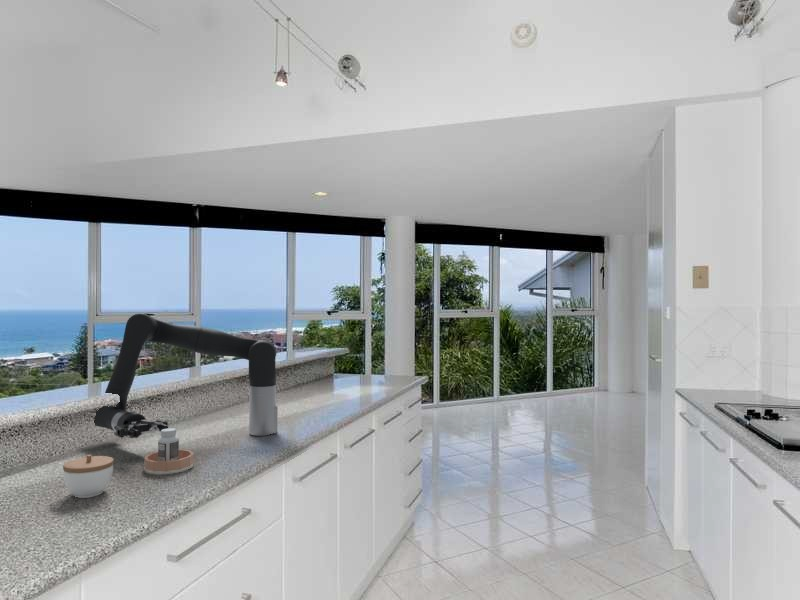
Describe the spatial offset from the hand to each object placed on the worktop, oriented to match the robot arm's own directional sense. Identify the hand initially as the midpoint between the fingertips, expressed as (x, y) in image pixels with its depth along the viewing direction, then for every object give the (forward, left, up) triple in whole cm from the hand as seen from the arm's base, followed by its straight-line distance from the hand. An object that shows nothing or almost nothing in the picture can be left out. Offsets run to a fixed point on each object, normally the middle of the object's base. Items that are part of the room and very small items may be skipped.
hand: (152, 431), depth 160 cm
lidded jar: (+17, +23, -9) cm, 30 cm away
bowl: (-3, +10, -8) cm, 14 cm away
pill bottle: (-3, +10, -8) cm, 13 cm away
